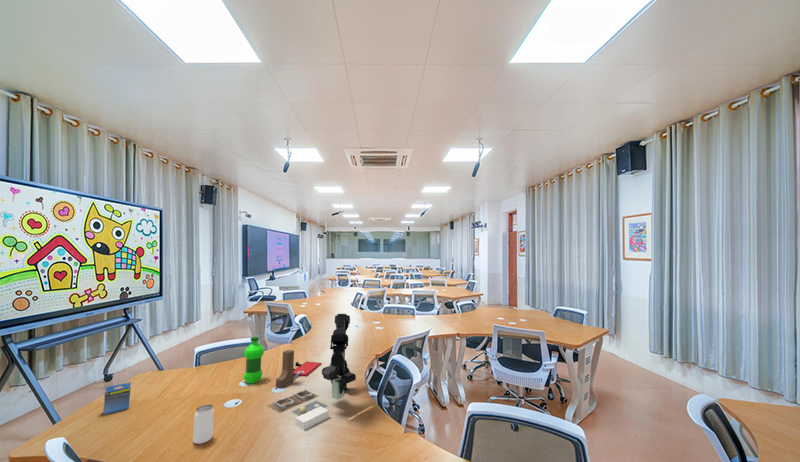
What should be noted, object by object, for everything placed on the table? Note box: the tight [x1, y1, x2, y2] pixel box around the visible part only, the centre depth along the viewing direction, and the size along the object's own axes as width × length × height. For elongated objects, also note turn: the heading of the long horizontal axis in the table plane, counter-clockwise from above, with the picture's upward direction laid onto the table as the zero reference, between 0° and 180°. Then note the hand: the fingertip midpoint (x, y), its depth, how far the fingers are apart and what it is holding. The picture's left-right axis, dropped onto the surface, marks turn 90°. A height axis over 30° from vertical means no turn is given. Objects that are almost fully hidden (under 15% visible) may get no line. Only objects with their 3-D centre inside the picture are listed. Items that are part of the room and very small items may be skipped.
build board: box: [267, 389, 319, 414], centre depth 152 cm, size 22×11×2 cm, turn 142°
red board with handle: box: [293, 361, 322, 380], centre depth 194 cm, size 30×3×15 cm
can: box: [192, 404, 215, 445], centre depth 122 cm, size 6×6×12 cm
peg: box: [331, 378, 345, 401], centre depth 148 cm, size 4×4×8 cm
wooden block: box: [275, 349, 295, 389], centre depth 174 cm, size 9×4×18 cm, turn 157°
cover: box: [294, 406, 330, 431], centre depth 134 cm, size 13×6×4 cm, turn 142°
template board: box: [291, 400, 328, 417], centre depth 144 cm, size 14×9×3 cm, turn 142°
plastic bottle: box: [243, 336, 265, 385], centre depth 178 cm, size 10×10×25 cm
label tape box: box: [102, 381, 132, 415], centre depth 144 cm, size 9×4×12 cm, turn 135°
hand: (338, 392), depth 148 cm, fingers closed on peg, 4 cm apart
